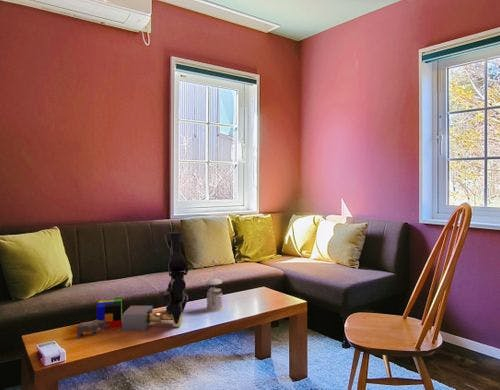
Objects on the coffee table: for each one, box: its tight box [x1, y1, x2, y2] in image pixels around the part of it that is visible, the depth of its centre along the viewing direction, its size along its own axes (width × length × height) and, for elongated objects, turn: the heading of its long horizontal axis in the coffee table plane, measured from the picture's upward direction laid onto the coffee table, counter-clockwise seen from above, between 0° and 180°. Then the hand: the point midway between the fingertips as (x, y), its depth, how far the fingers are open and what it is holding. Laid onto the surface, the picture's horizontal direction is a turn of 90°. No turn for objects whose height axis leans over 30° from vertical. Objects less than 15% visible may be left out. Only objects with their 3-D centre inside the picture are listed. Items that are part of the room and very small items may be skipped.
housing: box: [121, 305, 154, 331], centre depth 176 cm, size 12×10×7 cm
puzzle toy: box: [96, 298, 123, 331], centre depth 177 cm, size 10×10×10 cm
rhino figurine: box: [76, 319, 110, 339], centre depth 166 cm, size 4×14×6 cm, turn 125°
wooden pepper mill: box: [148, 312, 183, 328], centre depth 176 cm, size 6×17×6 cm, turn 89°
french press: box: [204, 259, 225, 313], centre depth 198 cm, size 10×12×25 cm
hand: (177, 321), depth 176 cm, fingers closed on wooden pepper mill, 6 cm apart
